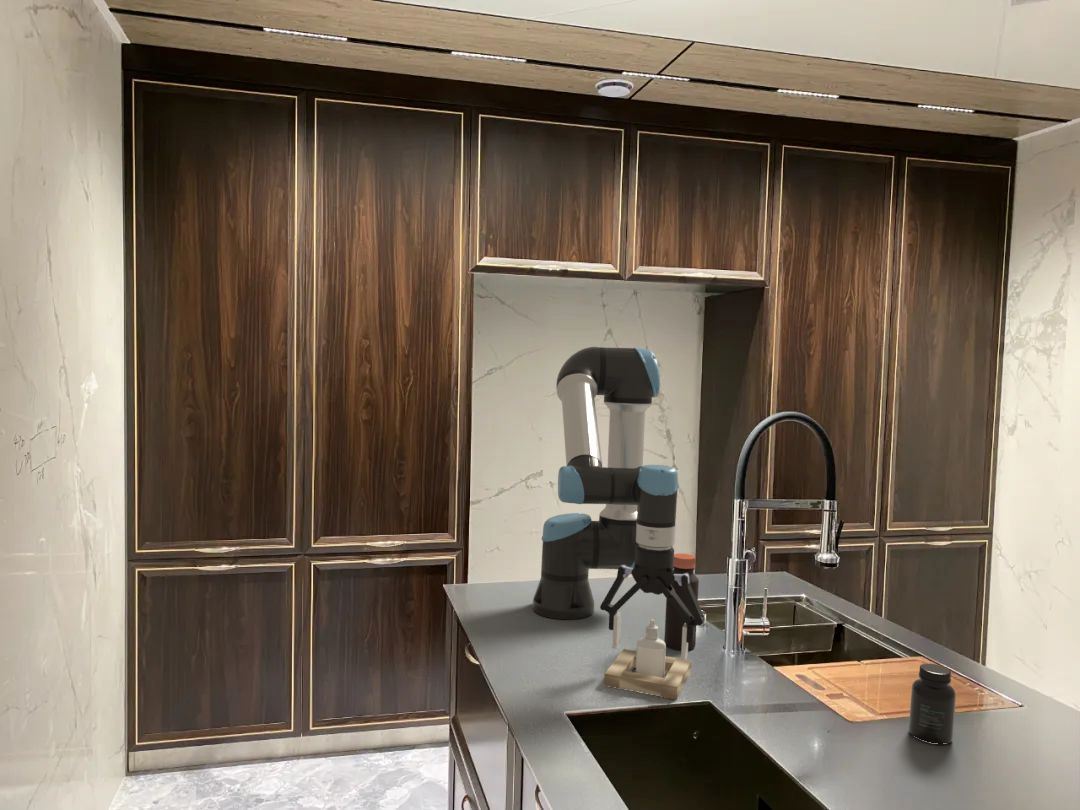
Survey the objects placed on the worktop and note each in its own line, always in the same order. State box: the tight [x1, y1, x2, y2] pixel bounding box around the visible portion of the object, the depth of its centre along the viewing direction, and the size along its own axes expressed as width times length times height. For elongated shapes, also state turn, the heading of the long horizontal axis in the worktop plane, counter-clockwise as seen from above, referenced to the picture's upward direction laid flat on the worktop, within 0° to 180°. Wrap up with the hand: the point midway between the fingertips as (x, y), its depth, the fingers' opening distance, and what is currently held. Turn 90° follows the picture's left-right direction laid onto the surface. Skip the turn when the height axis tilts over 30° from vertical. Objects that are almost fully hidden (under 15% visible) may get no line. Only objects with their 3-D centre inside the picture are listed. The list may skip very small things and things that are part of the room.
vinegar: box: [663, 552, 700, 651], centre depth 177 cm, size 7×7×20 cm
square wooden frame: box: [603, 648, 692, 701], centre depth 159 cm, size 14×14×2 cm
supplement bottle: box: [908, 663, 957, 744], centre depth 139 cm, size 7×7×12 cm
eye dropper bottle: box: [635, 618, 667, 678], centre depth 159 cm, size 4×6×12 cm
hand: (649, 652), depth 159 cm, fingers open, 13 cm apart
